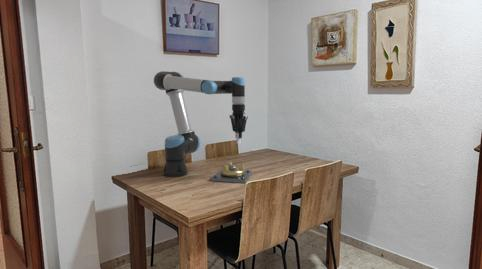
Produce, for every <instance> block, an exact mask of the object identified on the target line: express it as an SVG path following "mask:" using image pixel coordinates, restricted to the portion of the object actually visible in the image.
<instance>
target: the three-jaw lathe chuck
mask: <svg viewBox="0 0 482 269" xmlns="http://www.w3.org/2000/svg"><path fill="white" fill-rule="evenodd" d="M220 170H221V175H222V176H226V177H238V176H242V175H244V171H245V164H244V163H241V162H240V163H239V164H238V166H236V165H233V161H227V162H226V164H224V165H222V168H221V169H220Z"/></svg>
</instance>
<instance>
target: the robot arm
mask: <svg viewBox="0 0 482 269" xmlns="http://www.w3.org/2000/svg"><path fill="white" fill-rule="evenodd" d="M153 84H154V86H155V88H157V89H158V90H161V91H165V94H166V95H167V96H168V97H169V101H170V104H171V107H172V108H171V109H172V112H173V115H174V116H173V117H174V120H175V125H176V128H177V134H176V135H169V136H167V137H165V140H164V155H165V156H164V159H165V160H164V161H165V162H164V166H163V170H162V174H163V176H164V175H165V176H164V177H169V178H170V177H171V178H173V177H174V178H175V177H182V176H186V175H188V173H189V172H188V170H189V169H188V167H187V165H186V161H185V158H186V157H185V156H186V155H188V154H192V153H193V154H194V152H197V151H198V150H199V149H200V147H201V140H200V137H199V136H198V135H196V133H195V130H194V129H192V126H191V123H190V119H189V114H188V110H187V107H186V102H185V97H184V95H183V93H184V91H186V92H194V93H195V92H196V93H202V94H205V95H222V94H231V103H232V104H231V110H232V114H230V115H229V118H230V122H231V128H232V132H234V133H235V139H236V140H235V141H236V142H235V143H236V145H237V144H238V145H240V144H242V138H243V133H244V132H245V131H246V127H247V126H246V124H247V120H248V118H249V116H248V115H245V114H246V113H245V111H246V109H245V108H246V104H245V103H246V100H245V99H246V98H245V97H246V96H245V95H246V94H245V89H246V87H245V86H246V84H245V78H244V77H243V76H240V77H239V76H236V77H235V76H234V77H231V80H209V79H200V78H193V77H192V78H191V77H184V75H183V74H182V73H181V72H177V71H166V70H165V71H159V72H157V73H156V74H155V75H154V77H153Z"/></svg>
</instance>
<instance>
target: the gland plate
mask: <svg viewBox="0 0 482 269" xmlns="http://www.w3.org/2000/svg"><path fill="white" fill-rule="evenodd" d="M252 175H253V170H244V175H242V176H238V177H226V176H222V175H221V169H220V170H219V171H217V172H216V173H215V174H214V175H212V177H210V181H211V182H221V183H233V184H247V182H248V180H249V179H250V178H251V176H252Z"/></svg>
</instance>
